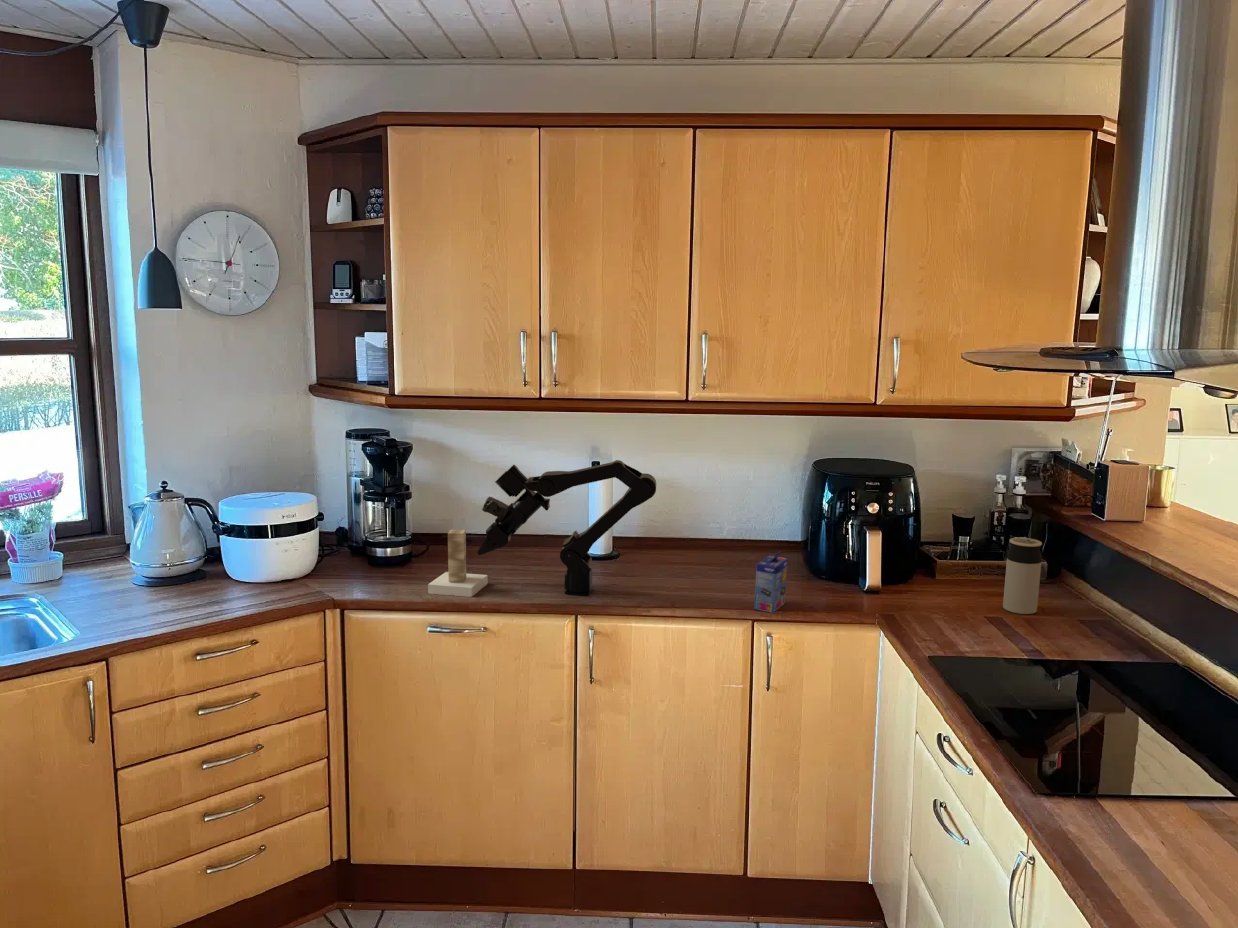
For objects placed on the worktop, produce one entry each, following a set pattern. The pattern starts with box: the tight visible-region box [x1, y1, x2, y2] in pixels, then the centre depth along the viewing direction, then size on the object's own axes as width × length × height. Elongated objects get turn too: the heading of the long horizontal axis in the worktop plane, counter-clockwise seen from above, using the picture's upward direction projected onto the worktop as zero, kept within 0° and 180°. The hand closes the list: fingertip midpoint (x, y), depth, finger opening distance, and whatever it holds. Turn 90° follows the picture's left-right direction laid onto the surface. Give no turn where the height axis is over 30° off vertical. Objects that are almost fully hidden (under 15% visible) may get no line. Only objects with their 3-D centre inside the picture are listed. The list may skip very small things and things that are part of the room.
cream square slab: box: [427, 571, 489, 598], centre depth 245 cm, size 12×12×3 cm
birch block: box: [447, 529, 467, 582], centre depth 243 cm, size 4×5×13 cm
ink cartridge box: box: [753, 550, 789, 614], centre depth 232 cm, size 10×6×14 cm, turn 152°
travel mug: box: [1002, 537, 1043, 615], centre depth 231 cm, size 8×8×18 cm
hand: (481, 549), depth 243 cm, fingers open, 9 cm apart
